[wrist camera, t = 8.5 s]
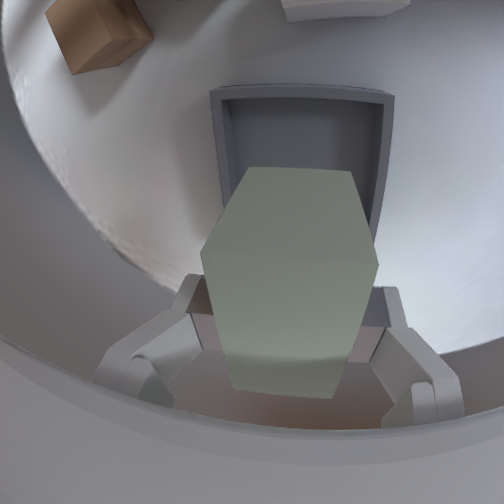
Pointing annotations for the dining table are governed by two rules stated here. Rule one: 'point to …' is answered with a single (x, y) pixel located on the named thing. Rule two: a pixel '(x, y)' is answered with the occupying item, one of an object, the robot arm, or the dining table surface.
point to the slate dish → (305, 134)
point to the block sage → (290, 279)
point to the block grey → (339, 8)
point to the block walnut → (97, 32)
